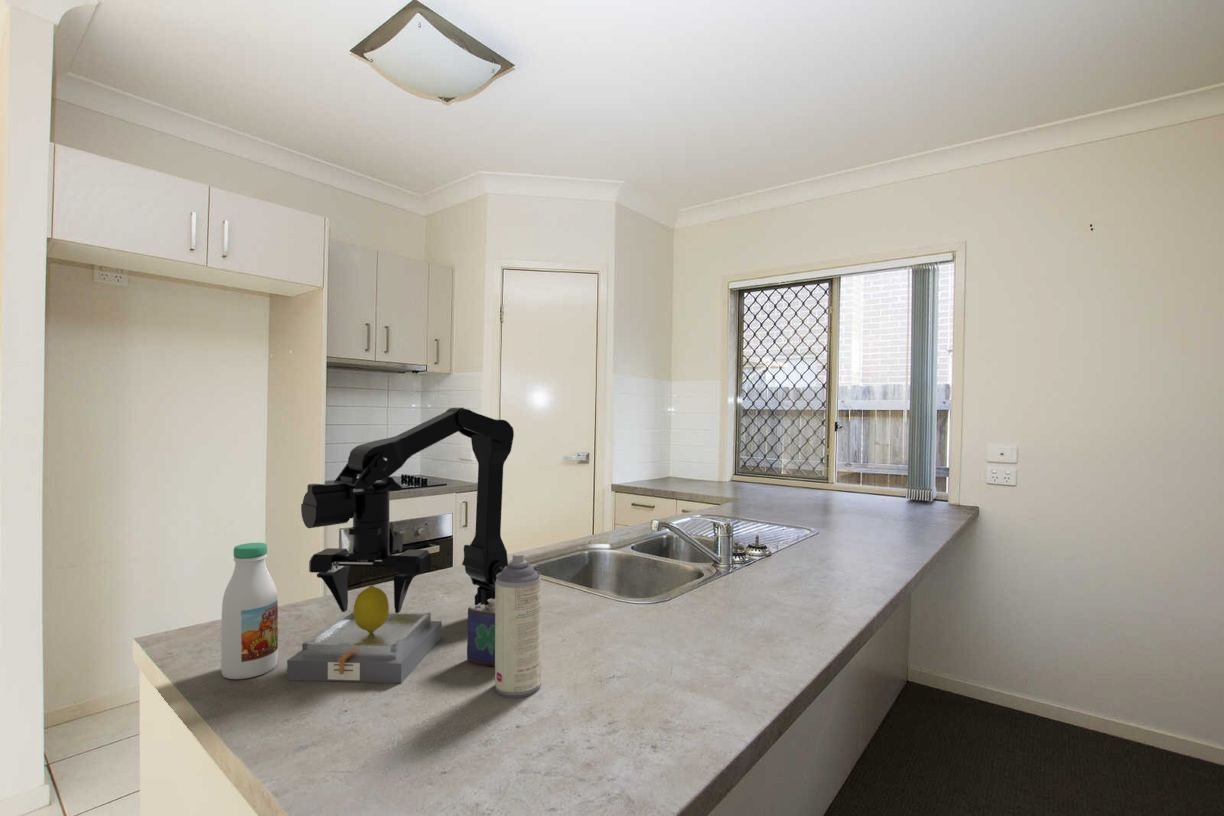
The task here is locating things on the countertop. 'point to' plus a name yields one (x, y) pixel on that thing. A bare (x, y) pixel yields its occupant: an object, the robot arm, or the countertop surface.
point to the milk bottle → (249, 616)
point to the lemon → (371, 609)
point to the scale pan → (366, 638)
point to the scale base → (366, 663)
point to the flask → (481, 634)
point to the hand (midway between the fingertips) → (371, 611)
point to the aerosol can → (517, 629)
